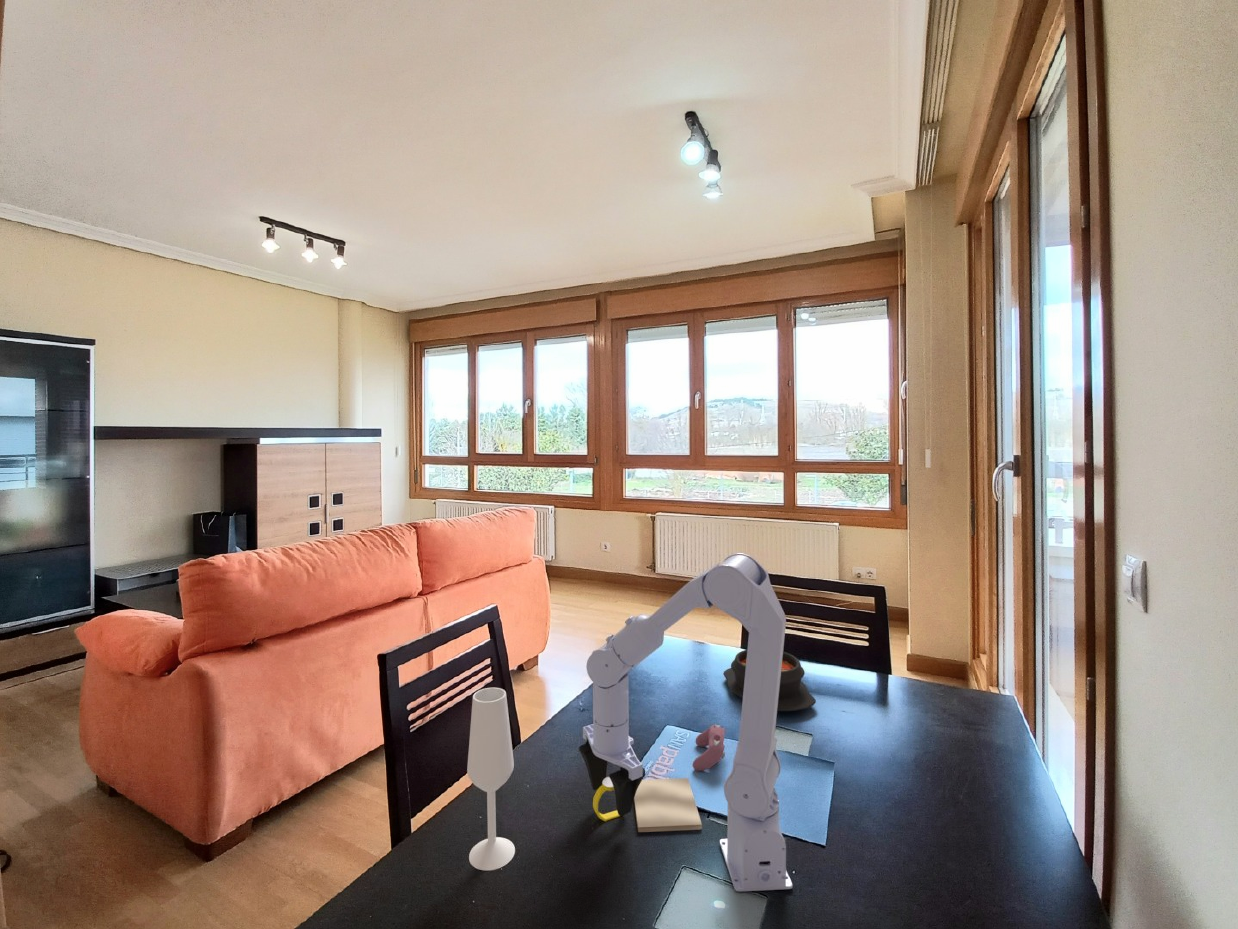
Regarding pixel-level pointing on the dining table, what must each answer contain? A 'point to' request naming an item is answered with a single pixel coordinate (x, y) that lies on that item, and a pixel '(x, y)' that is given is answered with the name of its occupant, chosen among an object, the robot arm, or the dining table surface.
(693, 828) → the wooden board
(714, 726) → the video game controller
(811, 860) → the dining table surface
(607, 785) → the watch
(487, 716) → the champagne flute
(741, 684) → the casserole
